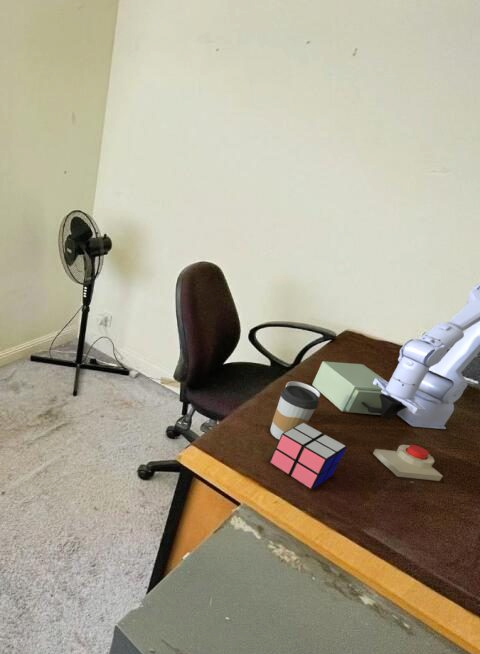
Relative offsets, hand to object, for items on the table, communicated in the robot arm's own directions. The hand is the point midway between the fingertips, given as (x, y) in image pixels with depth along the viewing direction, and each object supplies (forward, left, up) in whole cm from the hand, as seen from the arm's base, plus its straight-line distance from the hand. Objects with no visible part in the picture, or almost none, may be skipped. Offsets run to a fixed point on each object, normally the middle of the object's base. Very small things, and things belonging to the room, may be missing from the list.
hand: (384, 418), depth 121 cm
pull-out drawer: (0, -10, -3) cm, 10 cm away
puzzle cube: (+35, +21, -4) cm, 41 cm away
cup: (+24, -2, -4) cm, 24 cm away
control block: (+6, +16, -3) cm, 18 cm away
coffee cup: (+32, +8, -4) cm, 33 cm away
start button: (+3, +15, 0) cm, 15 cm away
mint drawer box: (0, -14, -3) cm, 14 cm away
